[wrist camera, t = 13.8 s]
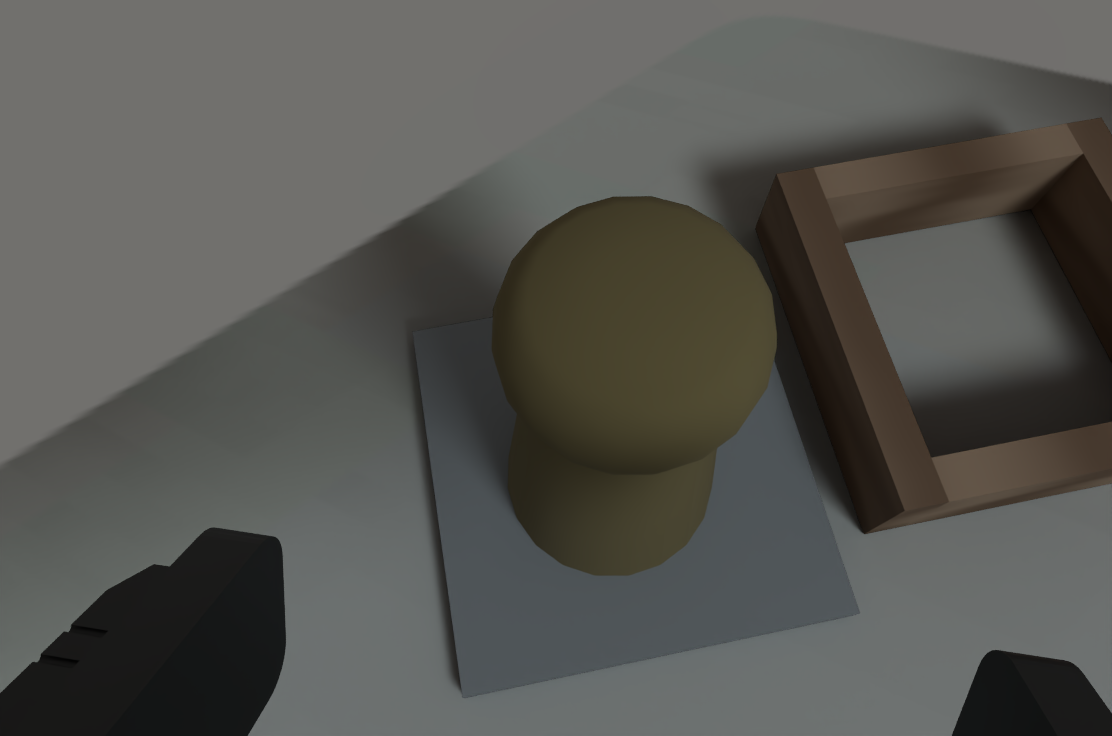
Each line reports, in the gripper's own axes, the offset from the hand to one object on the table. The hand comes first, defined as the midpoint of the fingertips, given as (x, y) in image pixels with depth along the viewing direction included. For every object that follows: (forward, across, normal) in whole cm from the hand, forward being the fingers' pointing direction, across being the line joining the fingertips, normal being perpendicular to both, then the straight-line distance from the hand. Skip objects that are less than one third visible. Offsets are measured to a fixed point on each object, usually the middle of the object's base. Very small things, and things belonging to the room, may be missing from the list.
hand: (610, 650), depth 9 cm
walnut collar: (+18, -11, +1) cm, 21 cm away
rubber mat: (+14, 0, +5) cm, 15 cm away
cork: (+13, 0, +5) cm, 14 cm away
